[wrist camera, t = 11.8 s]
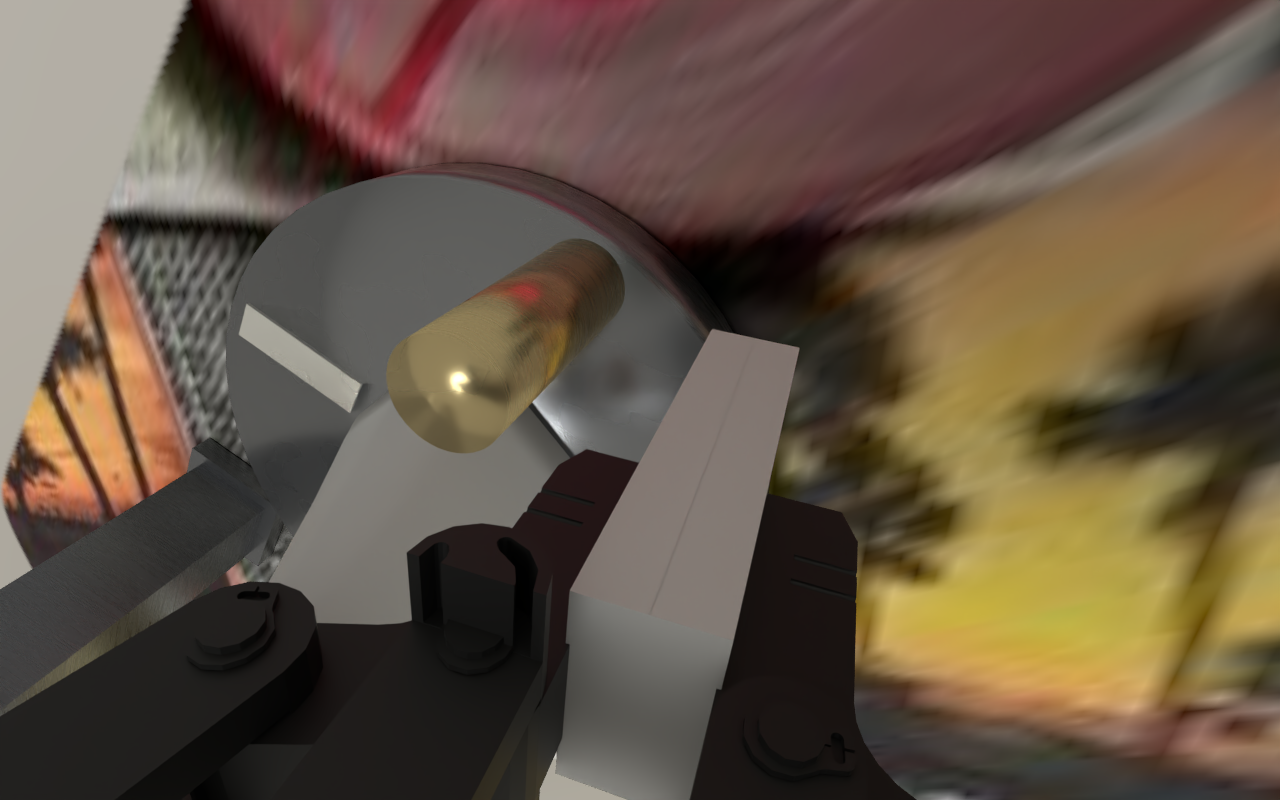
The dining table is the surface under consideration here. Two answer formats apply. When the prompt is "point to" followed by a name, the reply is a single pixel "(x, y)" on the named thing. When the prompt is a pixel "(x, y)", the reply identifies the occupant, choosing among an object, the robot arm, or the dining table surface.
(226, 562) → the post
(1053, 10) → the dining table surface
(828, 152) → the dining table surface
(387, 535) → the flask
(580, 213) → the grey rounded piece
